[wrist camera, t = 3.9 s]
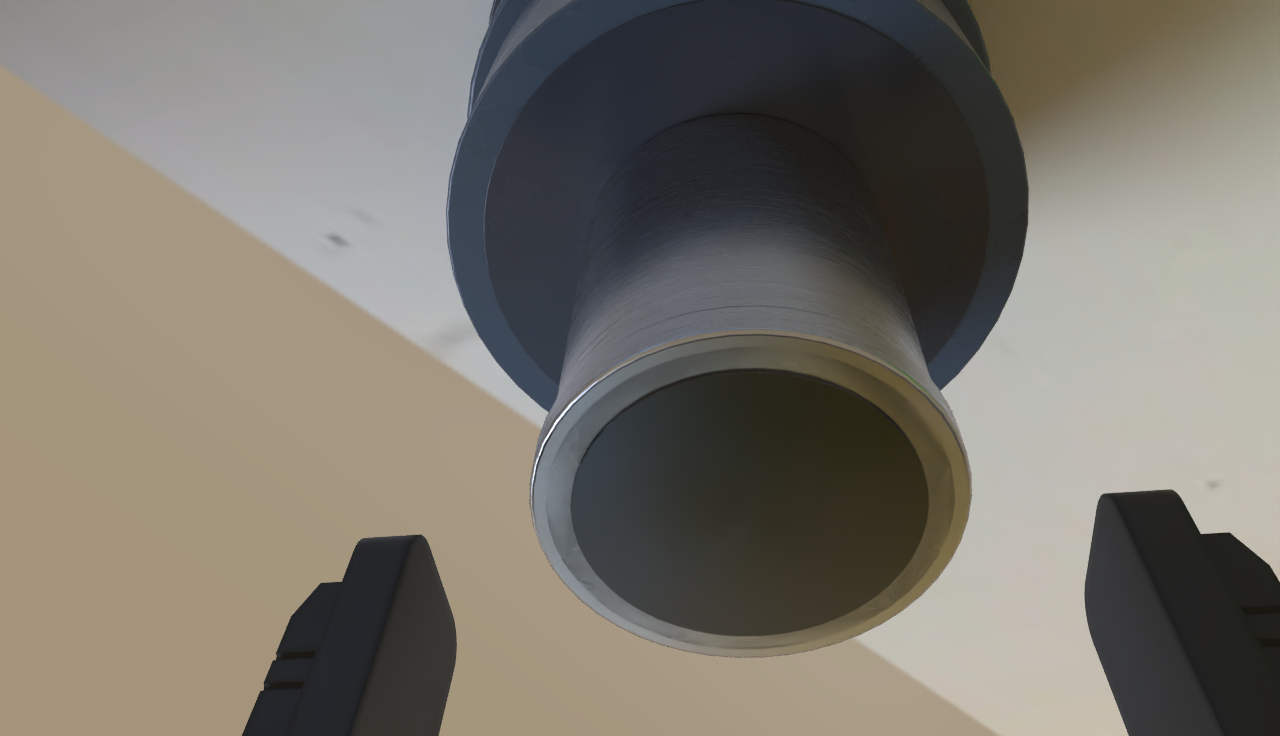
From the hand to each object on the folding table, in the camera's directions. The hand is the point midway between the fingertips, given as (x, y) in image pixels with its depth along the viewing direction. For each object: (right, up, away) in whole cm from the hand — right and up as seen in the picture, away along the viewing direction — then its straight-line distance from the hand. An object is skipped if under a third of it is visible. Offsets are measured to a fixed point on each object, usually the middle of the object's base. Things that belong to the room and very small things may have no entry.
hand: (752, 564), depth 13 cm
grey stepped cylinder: (+1, +10, +15) cm, 18 cm away
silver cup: (0, +5, +7) cm, 8 cm away
